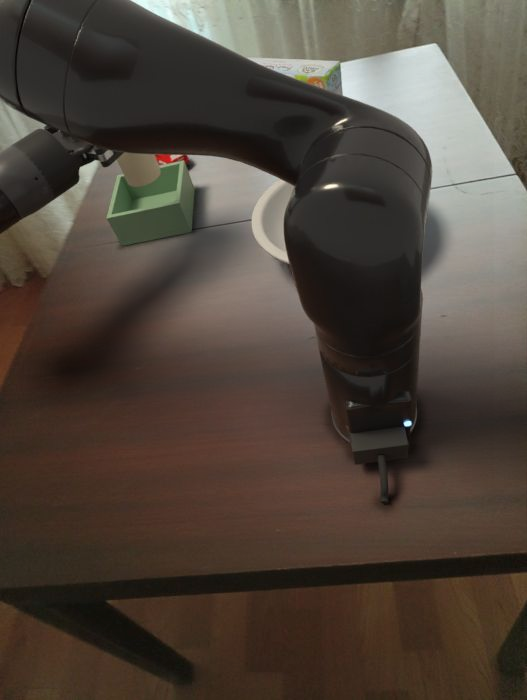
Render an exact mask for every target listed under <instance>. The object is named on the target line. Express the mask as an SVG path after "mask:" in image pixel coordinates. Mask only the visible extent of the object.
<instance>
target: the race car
mask: <svg viewBox="0 0 527 700" xmlns="http://www.w3.org/2000/svg"><path fill="white" fill-rule="evenodd" d="M155 158H156V160H157V163H158V165H159V166H161V165H165V164H170V163H174V162H179V161H183V160H184V161H185V164H186V167H188V166H190V164H191V161H190V159H189V155H155Z"/></svg>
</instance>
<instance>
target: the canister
mask: <svg viewBox="0 0 527 700" xmlns="http://www.w3.org/2000/svg"><path fill="white" fill-rule="evenodd" d="M116 161H117V164H118V166H119V168H120V170H121V172H122V174H124V176H125V178H126V180H127V183H128V184H129V185H130V186H133V187H141V186H145V185H148V184H150V183H152V182H153V181H155V180H156V179H157V178H158V177H159V176H160V173H161V170H160V168H159V165H158V163H157V160H156V158H155V155H152V154H134V153H125V152H124V153H123V154H122V155H121V156H120V157H119V158H118V159H117V160H116Z"/></svg>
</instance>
